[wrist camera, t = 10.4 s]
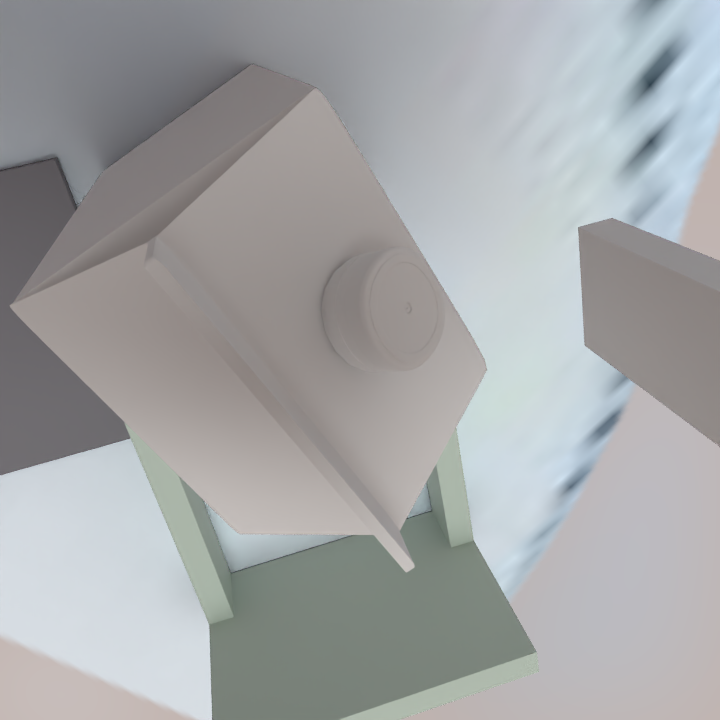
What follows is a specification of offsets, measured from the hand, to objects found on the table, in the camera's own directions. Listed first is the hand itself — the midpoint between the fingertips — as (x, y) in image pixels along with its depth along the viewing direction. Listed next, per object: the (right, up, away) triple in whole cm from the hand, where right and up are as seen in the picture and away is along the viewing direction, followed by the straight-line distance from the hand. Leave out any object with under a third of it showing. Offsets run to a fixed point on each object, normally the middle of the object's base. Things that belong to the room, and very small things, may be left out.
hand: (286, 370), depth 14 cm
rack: (-1, -5, +20) cm, 20 cm away
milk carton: (-4, +7, +14) cm, 16 cm away
